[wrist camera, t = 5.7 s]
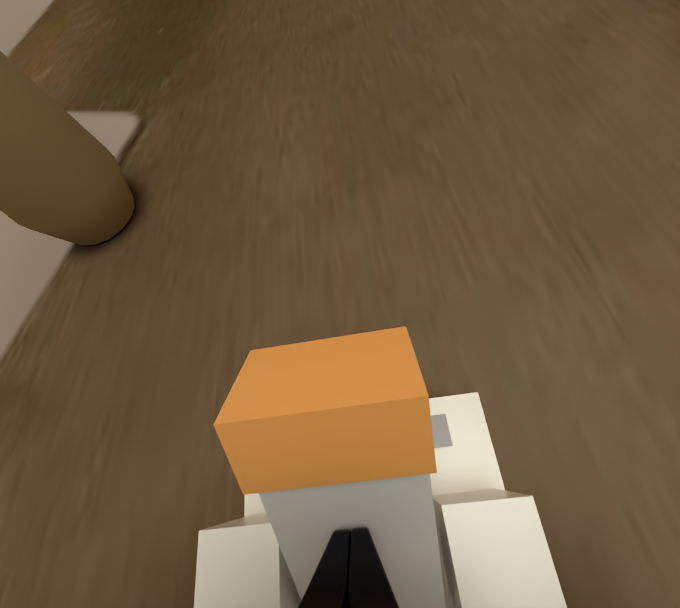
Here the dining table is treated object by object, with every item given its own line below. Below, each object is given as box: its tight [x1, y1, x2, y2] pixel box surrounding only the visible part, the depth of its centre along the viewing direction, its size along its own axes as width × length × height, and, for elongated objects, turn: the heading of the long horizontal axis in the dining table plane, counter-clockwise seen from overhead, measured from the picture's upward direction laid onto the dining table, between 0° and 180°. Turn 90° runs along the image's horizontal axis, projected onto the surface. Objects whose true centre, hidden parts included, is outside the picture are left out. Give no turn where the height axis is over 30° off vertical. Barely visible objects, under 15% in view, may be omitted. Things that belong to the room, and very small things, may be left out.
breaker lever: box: [213, 326, 446, 608], centre depth 10 cm, size 3×4×9 cm
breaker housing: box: [194, 392, 567, 608], centre depth 12 cm, size 11×10×8 cm
